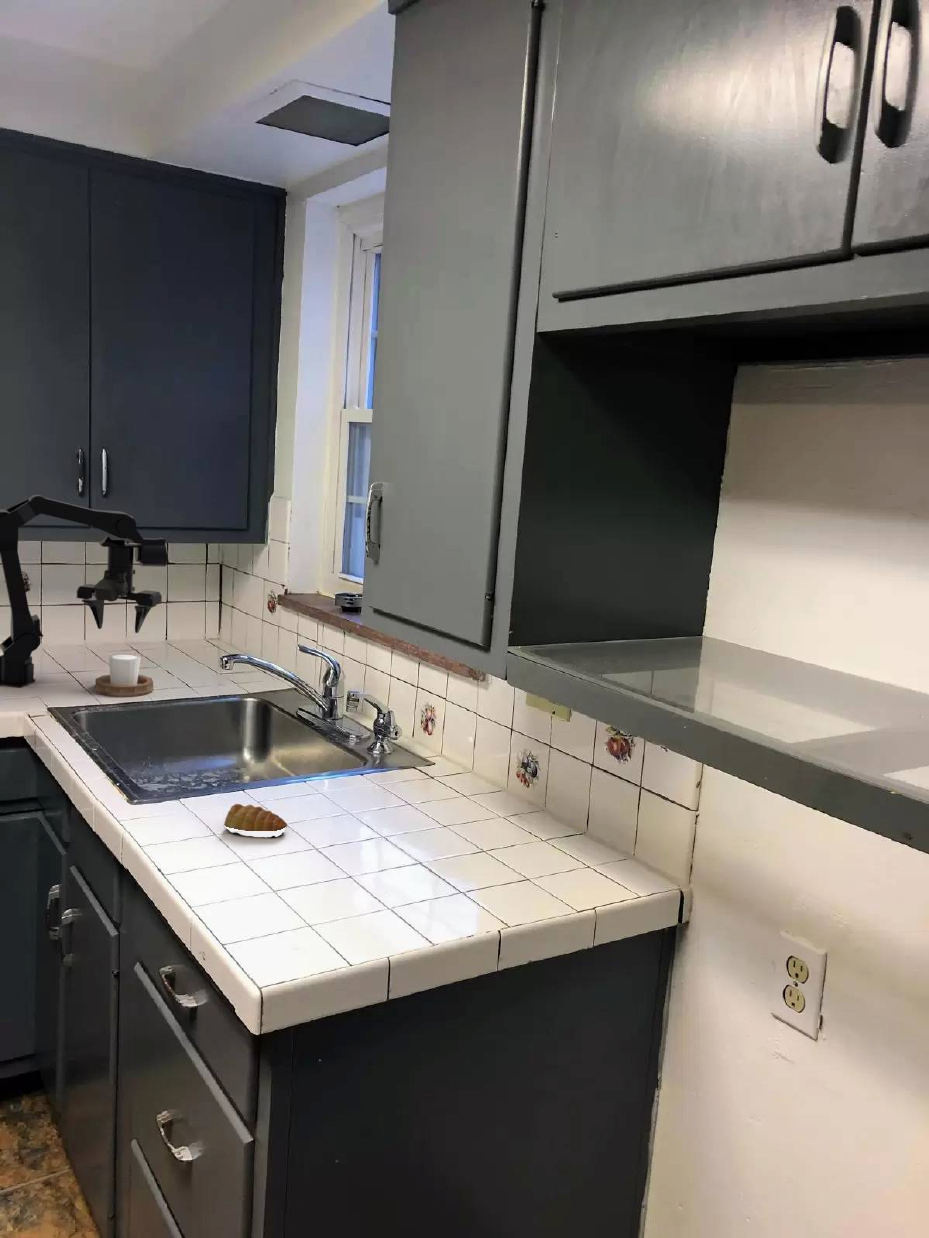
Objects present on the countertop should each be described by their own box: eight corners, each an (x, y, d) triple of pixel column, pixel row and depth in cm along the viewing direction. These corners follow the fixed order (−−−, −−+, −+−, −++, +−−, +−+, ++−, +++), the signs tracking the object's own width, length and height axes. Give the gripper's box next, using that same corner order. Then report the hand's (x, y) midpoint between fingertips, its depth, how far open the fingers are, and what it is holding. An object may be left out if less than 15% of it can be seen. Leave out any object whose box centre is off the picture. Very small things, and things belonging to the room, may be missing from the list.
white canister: (144, 684, 230) (145, 655, 229) (131, 691, 223) (132, 661, 222) (116, 681, 231) (117, 652, 230) (102, 687, 224) (103, 657, 223)
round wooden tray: (83, 692, 222) (83, 683, 221) (110, 680, 234) (110, 671, 234) (138, 699, 220) (138, 689, 220) (162, 686, 233) (163, 677, 233)
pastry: (292, 828, 157) (294, 806, 156) (276, 845, 150) (278, 821, 149) (237, 819, 158) (238, 797, 158) (219, 835, 152) (220, 811, 151)
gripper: (65, 565, 224) (63, 632, 226) (143, 573, 222) (141, 641, 224) (89, 560, 234) (87, 624, 237) (163, 568, 233) (161, 632, 235)
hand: (118, 630), depth 233 cm, fingers open, 9 cm apart
